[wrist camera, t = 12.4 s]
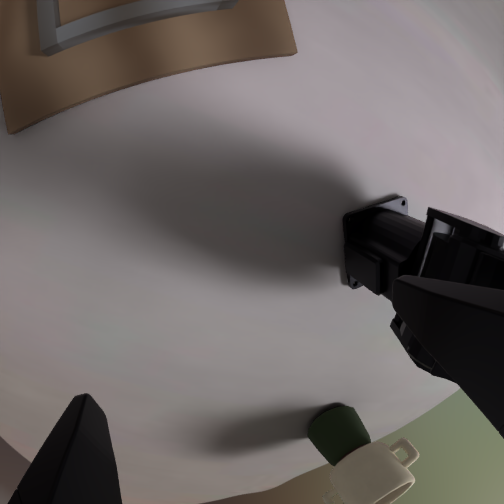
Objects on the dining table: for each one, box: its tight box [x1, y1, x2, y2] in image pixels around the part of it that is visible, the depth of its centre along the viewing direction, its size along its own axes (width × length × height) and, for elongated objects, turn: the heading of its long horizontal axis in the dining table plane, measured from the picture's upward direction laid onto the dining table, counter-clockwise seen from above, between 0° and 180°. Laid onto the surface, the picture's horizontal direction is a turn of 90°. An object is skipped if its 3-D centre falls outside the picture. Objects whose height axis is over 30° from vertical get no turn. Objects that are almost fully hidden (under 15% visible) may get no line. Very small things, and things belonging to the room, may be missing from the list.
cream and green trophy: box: [308, 406, 420, 504], centre depth 26 cm, size 11×7×13 cm, turn 128°
